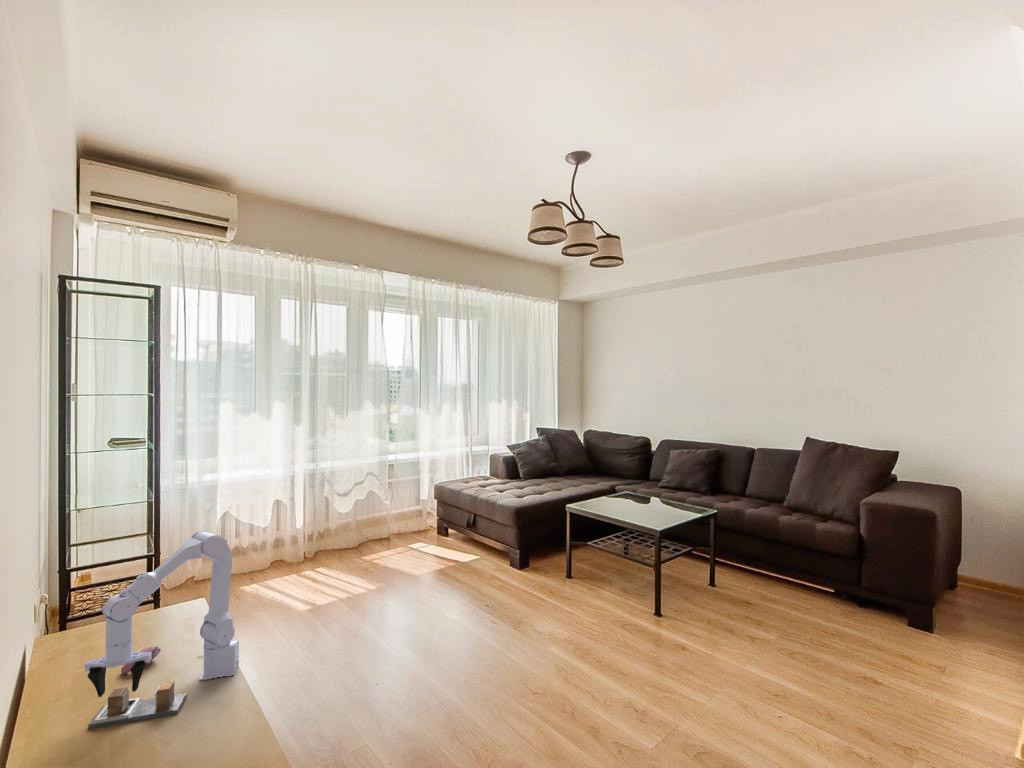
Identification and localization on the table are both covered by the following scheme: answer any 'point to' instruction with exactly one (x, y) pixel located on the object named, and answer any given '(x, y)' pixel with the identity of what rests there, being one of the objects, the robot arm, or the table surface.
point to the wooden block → (118, 701)
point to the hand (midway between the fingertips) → (118, 692)
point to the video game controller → (155, 652)
